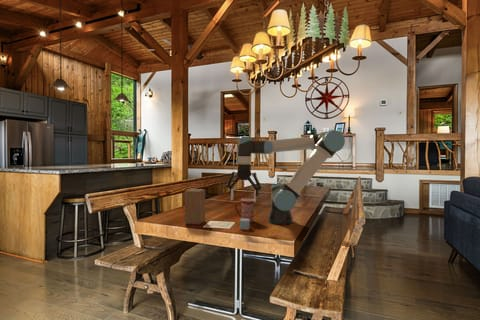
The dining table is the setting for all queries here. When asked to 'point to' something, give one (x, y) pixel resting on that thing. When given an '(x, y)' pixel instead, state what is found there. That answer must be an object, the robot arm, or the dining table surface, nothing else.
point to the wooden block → (194, 206)
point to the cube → (244, 224)
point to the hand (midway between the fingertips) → (243, 200)
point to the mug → (246, 209)
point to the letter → (219, 224)
